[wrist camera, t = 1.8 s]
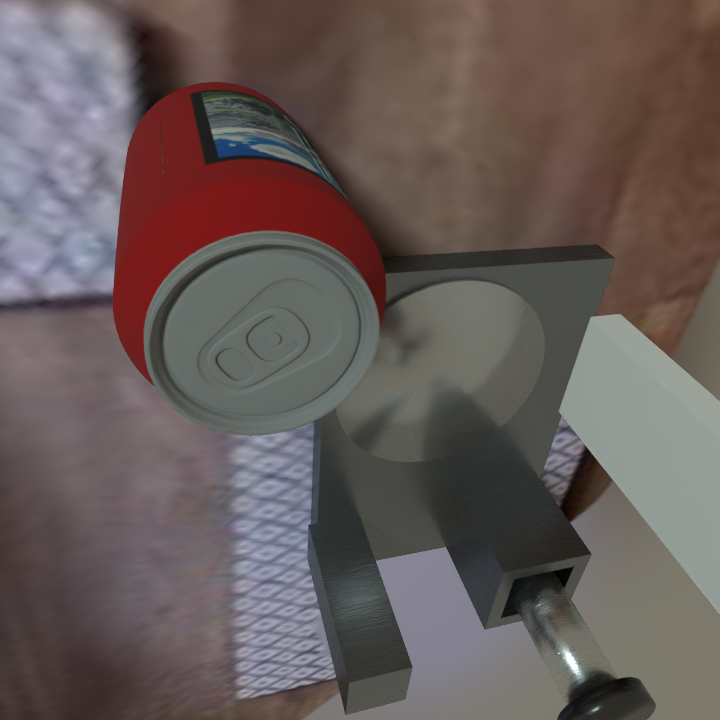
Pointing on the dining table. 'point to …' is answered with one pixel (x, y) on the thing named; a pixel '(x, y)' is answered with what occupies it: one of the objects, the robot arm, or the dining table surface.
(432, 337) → the press
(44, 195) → the dining table surface
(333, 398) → the beverage can
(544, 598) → the plunger
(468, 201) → the dining table surface
